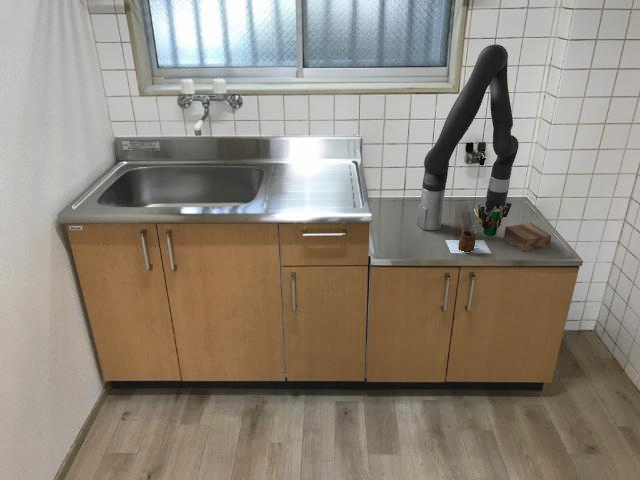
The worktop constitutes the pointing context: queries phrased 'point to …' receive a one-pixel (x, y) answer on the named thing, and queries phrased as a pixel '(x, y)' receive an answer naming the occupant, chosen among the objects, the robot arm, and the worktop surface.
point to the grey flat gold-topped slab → (477, 215)
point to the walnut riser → (527, 236)
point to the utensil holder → (467, 240)
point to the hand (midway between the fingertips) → (490, 227)
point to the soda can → (492, 223)
